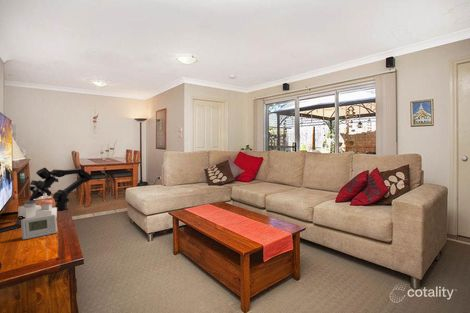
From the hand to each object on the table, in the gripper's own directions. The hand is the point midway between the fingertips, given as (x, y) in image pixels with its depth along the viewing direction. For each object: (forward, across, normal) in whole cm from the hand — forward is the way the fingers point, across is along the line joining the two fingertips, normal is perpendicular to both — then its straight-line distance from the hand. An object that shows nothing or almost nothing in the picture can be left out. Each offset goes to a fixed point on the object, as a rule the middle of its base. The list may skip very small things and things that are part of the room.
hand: (30, 200), depth 173 cm
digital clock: (+22, +46, -6) cm, 52 cm away
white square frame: (+7, +17, +9) cm, 20 cm away
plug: (+6, 0, +6) cm, 8 cm away
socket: (+8, 0, +8) cm, 11 cm away
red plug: (+4, +17, +5) cm, 18 cm away
